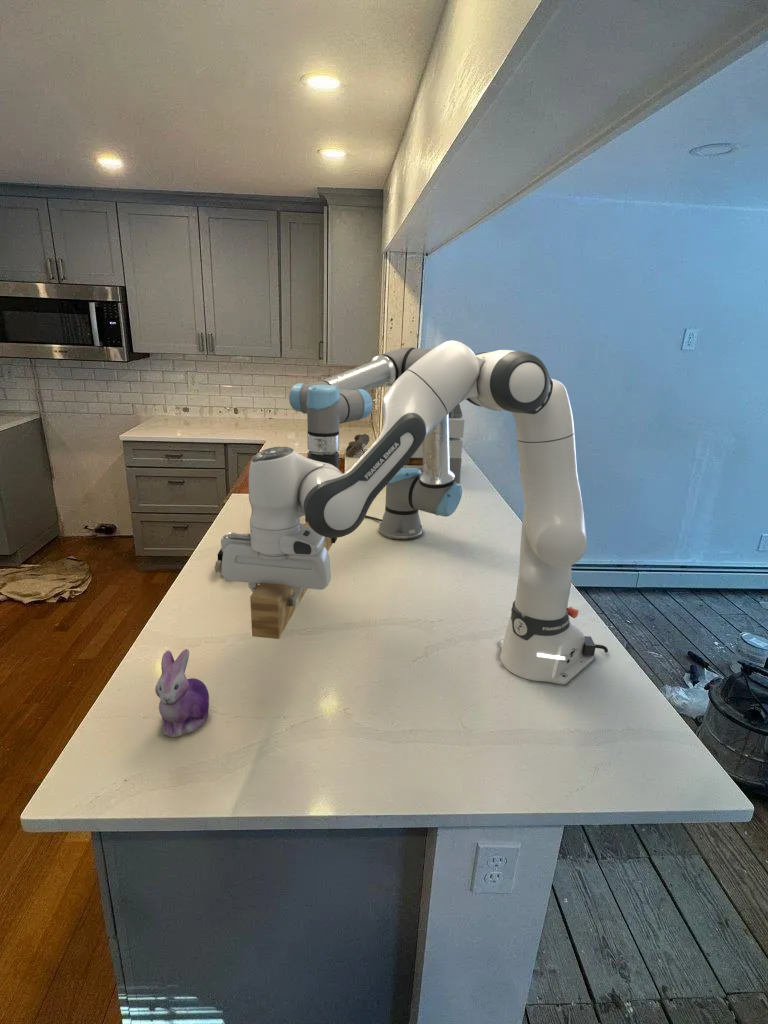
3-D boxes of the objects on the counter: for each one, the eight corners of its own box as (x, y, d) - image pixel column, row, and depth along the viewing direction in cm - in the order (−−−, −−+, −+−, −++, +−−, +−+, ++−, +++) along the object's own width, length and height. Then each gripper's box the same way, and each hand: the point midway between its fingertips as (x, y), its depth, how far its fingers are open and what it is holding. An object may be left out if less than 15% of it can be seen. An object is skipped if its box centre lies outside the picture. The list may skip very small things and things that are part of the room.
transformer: (382, 463, 289) (386, 382, 275) (445, 464, 293) (451, 384, 279) (390, 482, 257) (394, 392, 243) (460, 483, 261) (468, 394, 247)
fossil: (345, 440, 316) (366, 424, 311) (356, 453, 319) (377, 438, 314) (339, 453, 297) (361, 437, 292) (350, 467, 300) (373, 452, 295)
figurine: (162, 747, 100) (154, 675, 95) (155, 711, 109) (147, 644, 103) (217, 731, 104) (212, 662, 99) (206, 698, 113) (201, 633, 108)
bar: (320, 531, 152) (320, 502, 149) (338, 532, 151) (339, 503, 148) (251, 636, 102) (250, 596, 100) (278, 639, 102) (277, 598, 99)
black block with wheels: (238, 584, 162) (249, 557, 175) (236, 562, 158) (247, 536, 172) (215, 584, 161) (227, 556, 175) (212, 561, 158) (225, 535, 171)
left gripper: (282, 452, 134) (284, 542, 142) (357, 457, 132) (355, 549, 140) (291, 445, 141) (292, 531, 149) (362, 450, 139) (360, 537, 147)
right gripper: (213, 538, 101) (218, 606, 106) (325, 547, 99) (325, 617, 104) (227, 525, 107) (230, 590, 112) (333, 534, 105) (332, 600, 110)
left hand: (323, 539), depth 144 cm, fingers closed on bar, 5 cm apart
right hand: (277, 603), depth 108 cm, fingers closed on bar, 5 cm apart
